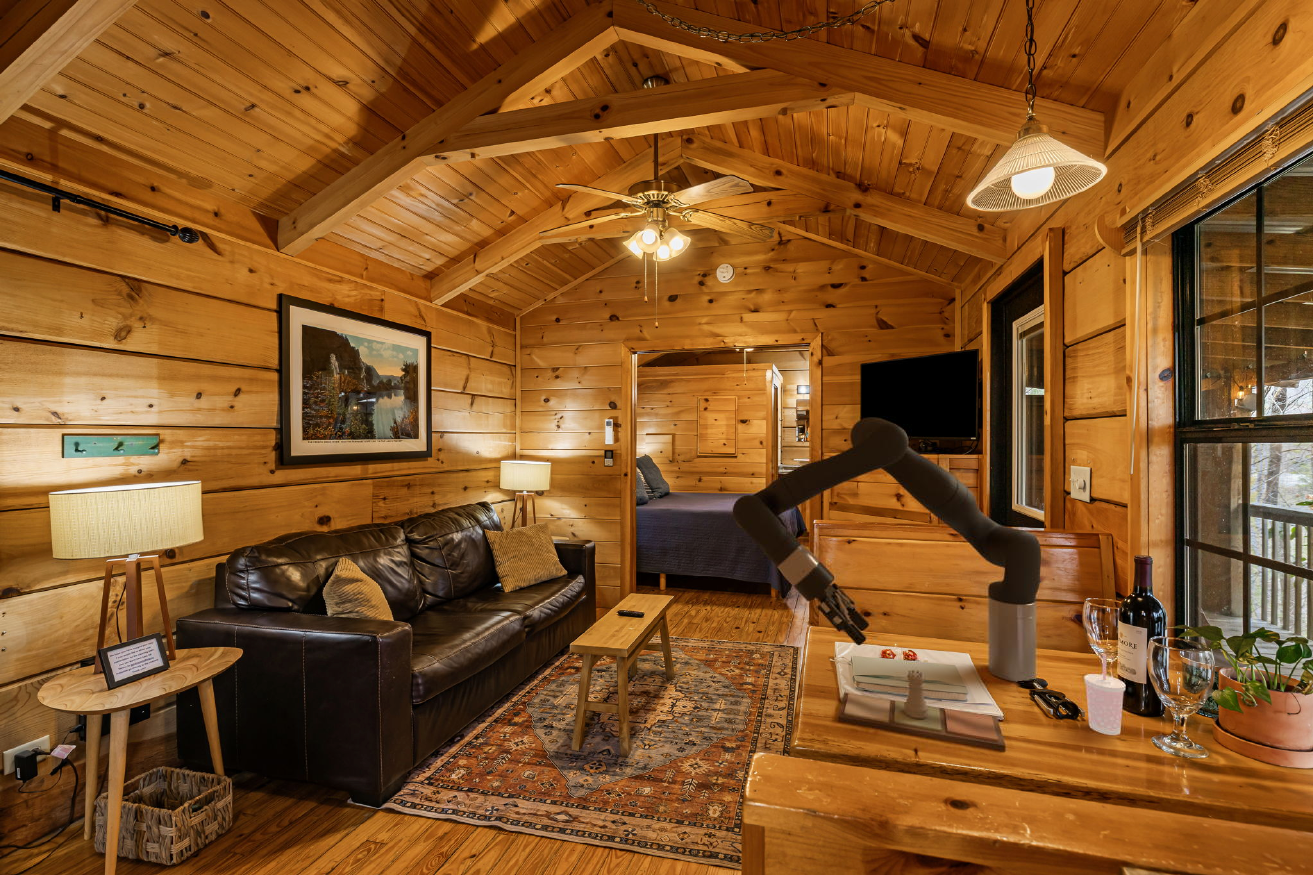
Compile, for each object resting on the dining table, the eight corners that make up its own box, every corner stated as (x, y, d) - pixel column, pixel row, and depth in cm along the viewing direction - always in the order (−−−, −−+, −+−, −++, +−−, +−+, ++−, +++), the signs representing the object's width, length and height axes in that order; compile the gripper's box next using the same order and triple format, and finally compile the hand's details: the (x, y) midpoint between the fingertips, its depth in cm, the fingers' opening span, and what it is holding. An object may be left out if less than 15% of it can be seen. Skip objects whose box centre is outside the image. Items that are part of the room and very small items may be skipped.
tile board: (844, 696, 123) (844, 690, 123) (996, 721, 112) (996, 714, 112) (838, 721, 113) (838, 714, 113) (1005, 751, 102) (1005, 743, 102)
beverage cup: (1083, 717, 113) (1083, 645, 113) (1124, 726, 110) (1124, 652, 109) (1084, 730, 108) (1084, 655, 108) (1126, 740, 105) (1126, 663, 104)
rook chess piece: (931, 720, 110) (931, 678, 110) (906, 718, 111) (906, 676, 111) (925, 709, 114) (925, 668, 114) (901, 707, 115) (900, 667, 115)
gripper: (813, 568, 112) (877, 635, 108) (823, 553, 125) (880, 612, 121) (785, 592, 115) (847, 659, 110) (798, 575, 128) (853, 634, 123)
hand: (864, 634), depth 116 cm, fingers open, 8 cm apart
